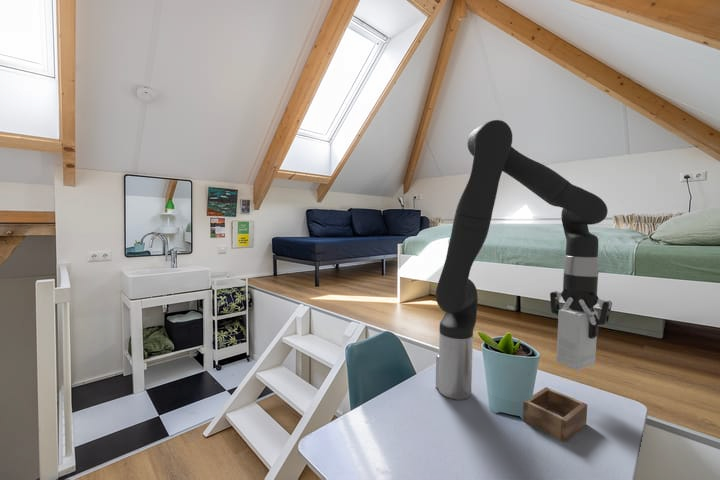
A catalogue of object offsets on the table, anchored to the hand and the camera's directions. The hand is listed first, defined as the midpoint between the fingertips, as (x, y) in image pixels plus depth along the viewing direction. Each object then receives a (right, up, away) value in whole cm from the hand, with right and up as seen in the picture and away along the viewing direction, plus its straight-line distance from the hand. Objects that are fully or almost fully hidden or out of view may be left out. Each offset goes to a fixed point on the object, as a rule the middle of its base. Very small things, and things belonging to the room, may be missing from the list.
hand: (577, 333), depth 84 cm
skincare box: (0, -8, 0) cm, 8 cm away
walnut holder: (-11, -20, -7) cm, 24 cm away
